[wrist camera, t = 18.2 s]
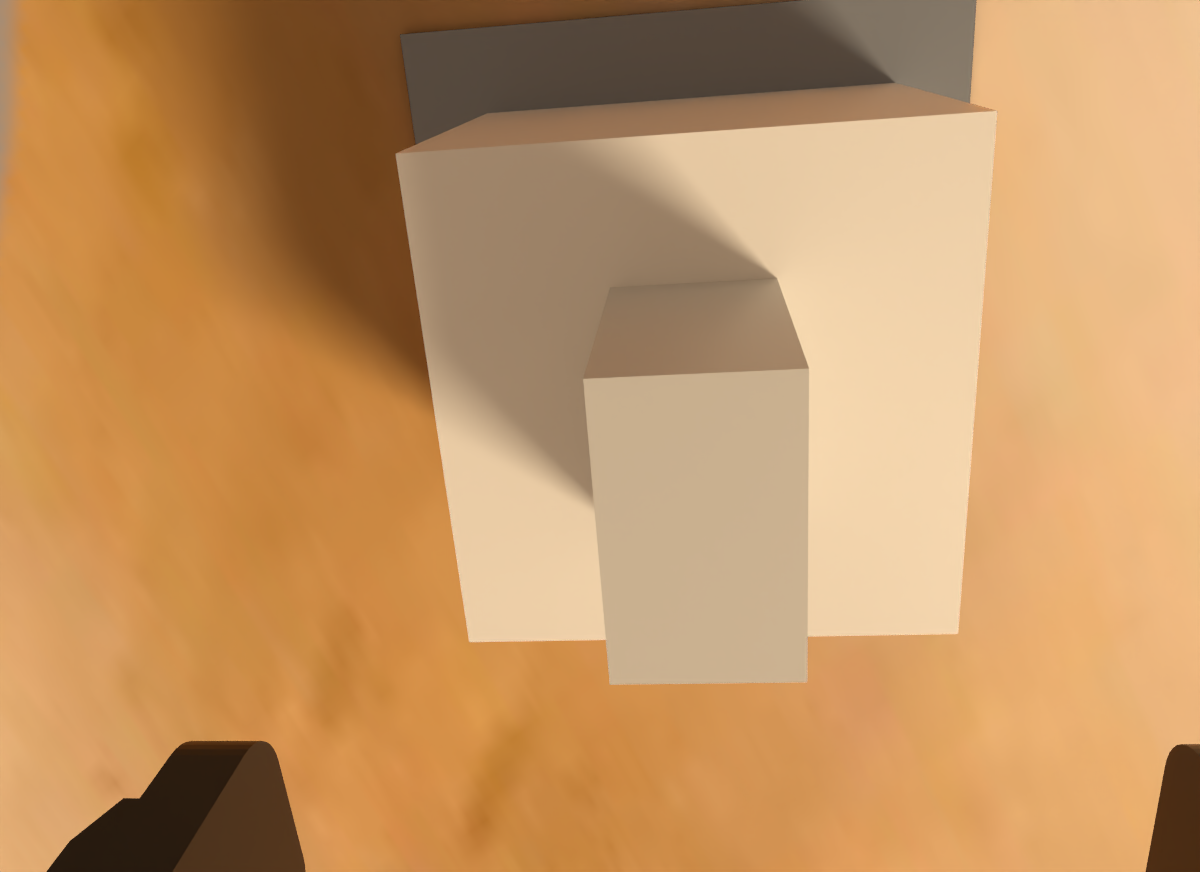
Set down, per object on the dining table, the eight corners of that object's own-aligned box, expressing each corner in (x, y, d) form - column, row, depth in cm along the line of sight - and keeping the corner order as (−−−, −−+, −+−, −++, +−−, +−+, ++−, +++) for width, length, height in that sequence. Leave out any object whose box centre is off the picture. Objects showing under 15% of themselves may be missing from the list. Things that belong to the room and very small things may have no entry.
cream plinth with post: (488, 112, 25) (288, 200, 13) (893, 82, 24) (1121, 144, 11) (529, 470, 29) (408, 814, 16) (880, 458, 28) (1039, 815, 15)
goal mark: (402, 34, 25) (400, 34, 24) (975, -15, 23) (977, -15, 23) (472, 525, 30) (470, 528, 30) (941, 511, 29) (943, 514, 28)
